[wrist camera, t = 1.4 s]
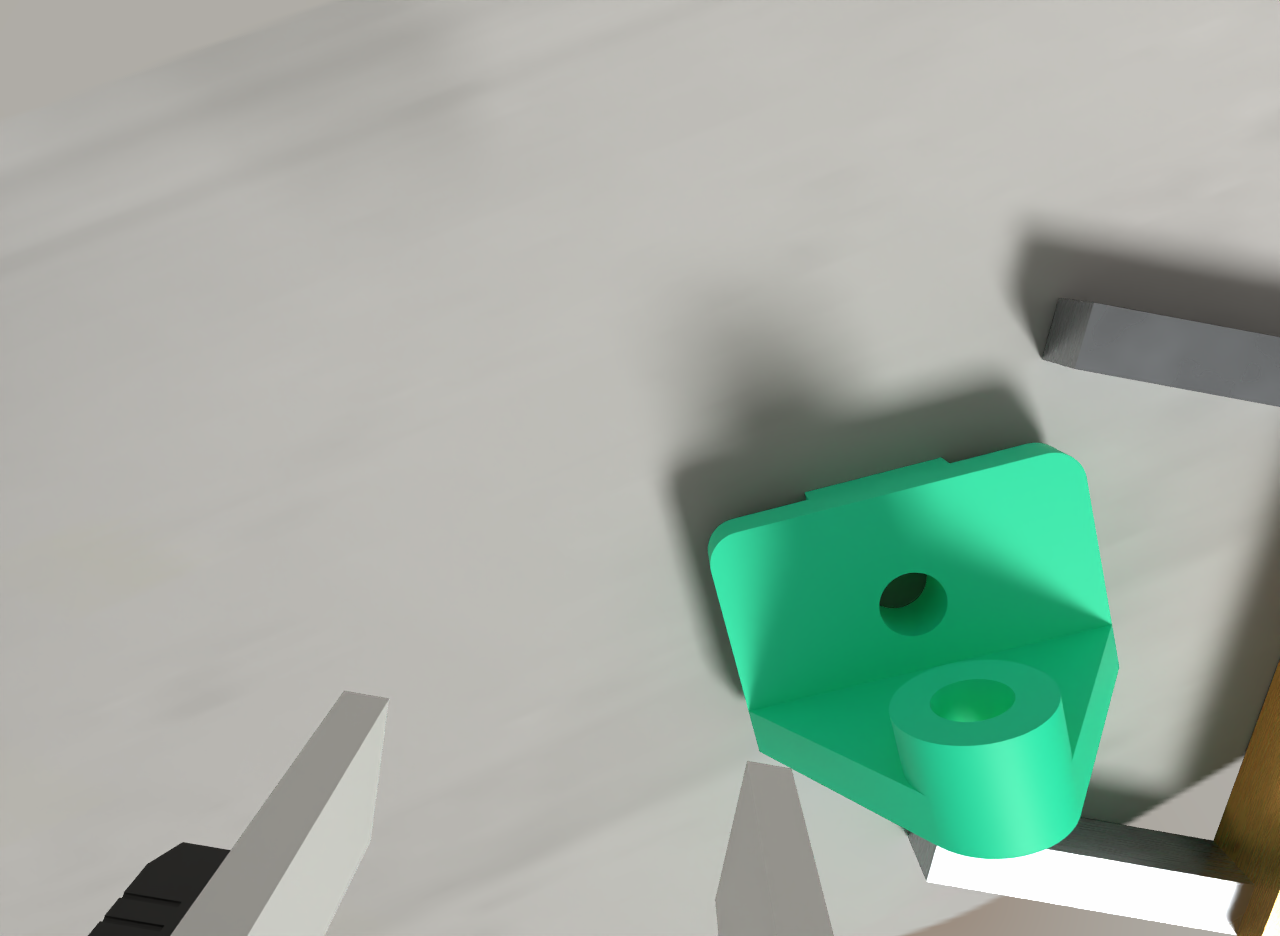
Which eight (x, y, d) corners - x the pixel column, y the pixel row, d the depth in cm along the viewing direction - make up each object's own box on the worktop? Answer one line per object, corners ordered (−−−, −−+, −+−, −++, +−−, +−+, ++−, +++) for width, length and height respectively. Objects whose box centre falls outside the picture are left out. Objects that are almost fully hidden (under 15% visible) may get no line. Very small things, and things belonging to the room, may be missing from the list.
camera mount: (1046, 428, 32) (1227, 513, 21) (1083, 634, 33) (1267, 802, 23) (699, 517, 32) (717, 638, 22) (752, 713, 34) (790, 908, 24)
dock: (908, 837, 35) (935, 901, 31) (1059, 298, 30) (1109, 304, 27) (1248, 896, 35) (1311, 966, 32) (1449, 370, 31) (1548, 386, 27)
